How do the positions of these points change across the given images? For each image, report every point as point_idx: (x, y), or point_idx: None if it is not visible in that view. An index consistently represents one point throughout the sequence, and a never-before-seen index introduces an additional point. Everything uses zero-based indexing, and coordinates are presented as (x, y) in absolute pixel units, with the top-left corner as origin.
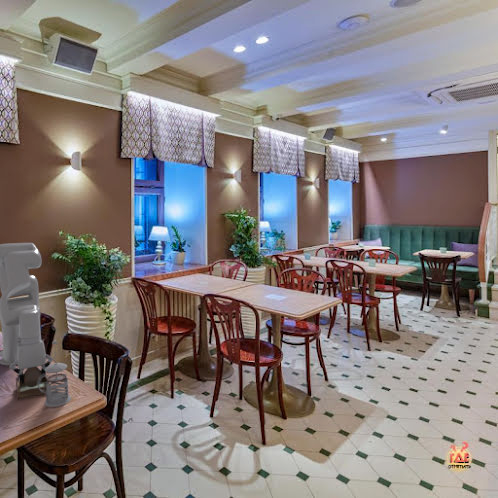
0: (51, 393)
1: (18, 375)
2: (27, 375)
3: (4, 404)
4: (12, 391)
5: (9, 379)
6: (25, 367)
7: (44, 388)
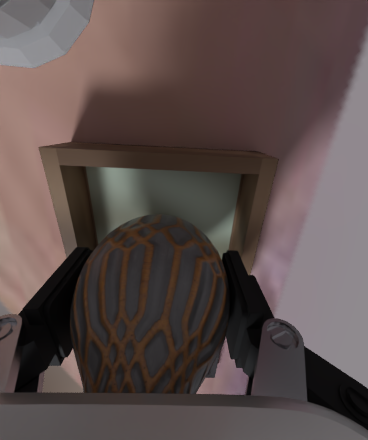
0: (18, 10)
1: (212, 372)
2: (203, 285)
3: (333, 136)
4: (255, 269)
5: None
6: (260, 435)
7: (88, 148)
